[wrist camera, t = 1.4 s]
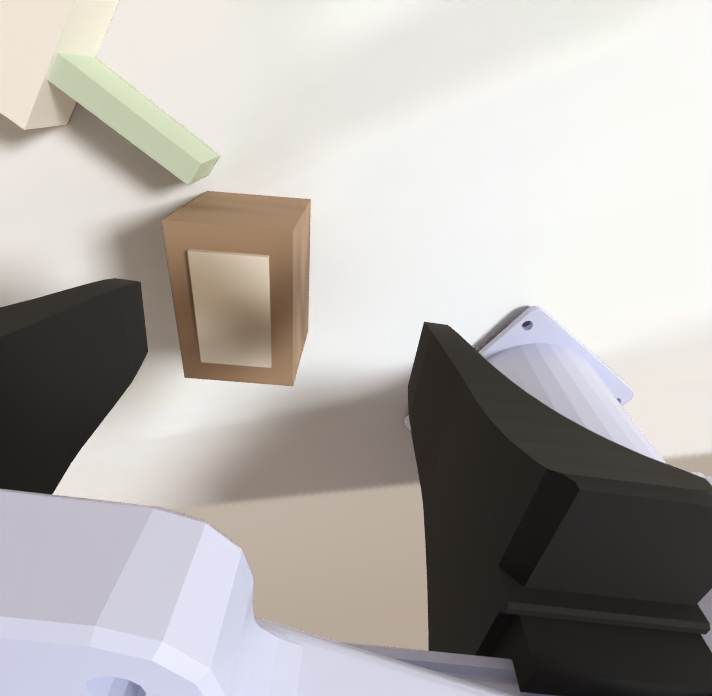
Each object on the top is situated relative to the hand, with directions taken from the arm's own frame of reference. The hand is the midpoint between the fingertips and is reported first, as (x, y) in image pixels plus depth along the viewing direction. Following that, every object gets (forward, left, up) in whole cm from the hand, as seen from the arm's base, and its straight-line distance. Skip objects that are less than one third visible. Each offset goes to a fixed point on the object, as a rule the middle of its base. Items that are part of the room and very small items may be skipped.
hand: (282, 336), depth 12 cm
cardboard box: (-3, +1, -10) cm, 11 cm away
